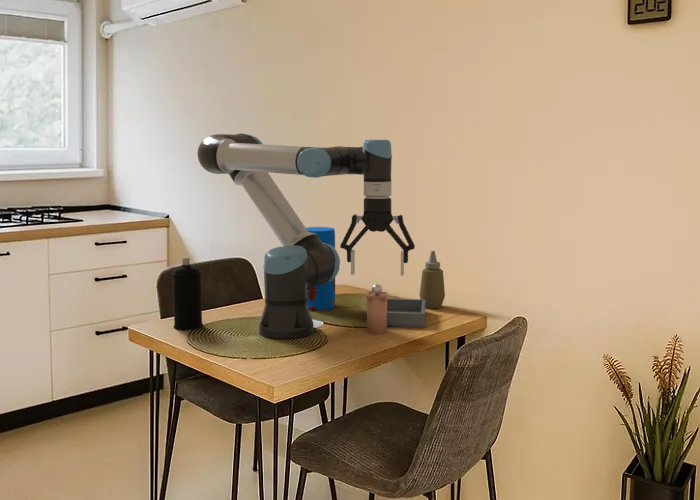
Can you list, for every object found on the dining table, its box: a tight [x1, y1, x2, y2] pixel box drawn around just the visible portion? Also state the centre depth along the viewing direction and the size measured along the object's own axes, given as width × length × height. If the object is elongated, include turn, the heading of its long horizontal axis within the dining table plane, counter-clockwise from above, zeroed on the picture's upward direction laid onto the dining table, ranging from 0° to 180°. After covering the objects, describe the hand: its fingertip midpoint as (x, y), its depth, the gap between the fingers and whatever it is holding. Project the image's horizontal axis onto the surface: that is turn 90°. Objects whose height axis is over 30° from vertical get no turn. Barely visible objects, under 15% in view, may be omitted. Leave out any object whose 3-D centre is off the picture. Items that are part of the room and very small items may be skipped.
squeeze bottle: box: [419, 250, 446, 310], centre depth 228 cm, size 8×8×18 cm
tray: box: [387, 297, 426, 328], centre depth 215 cm, size 16×18×4 cm
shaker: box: [365, 291, 389, 336], centre depth 200 cm, size 6×6×11 cm
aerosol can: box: [170, 256, 204, 331], centre depth 205 cm, size 8×8×20 cm
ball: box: [371, 283, 383, 295], centre depth 199 cm, size 3×3×3 cm
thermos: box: [306, 226, 336, 311], centre depth 228 cm, size 11×11×25 cm
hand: (377, 274), depth 198 cm, fingers open, 13 cm apart
